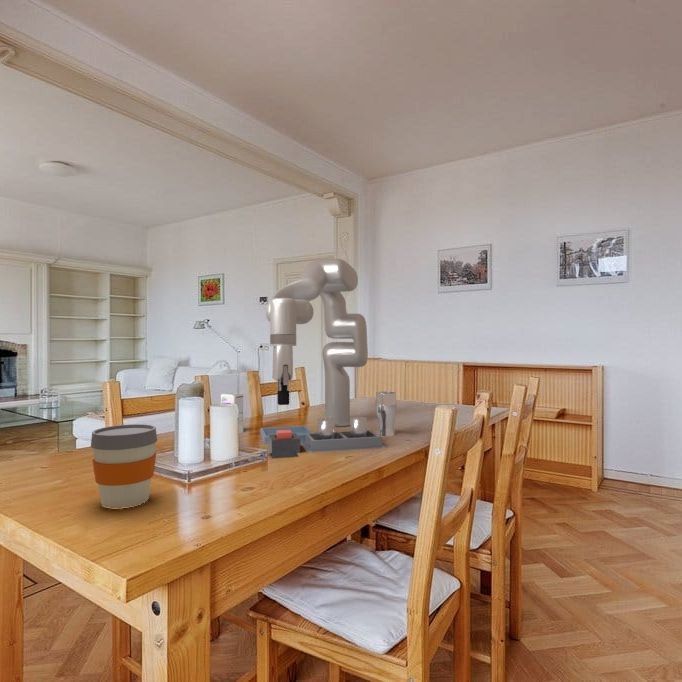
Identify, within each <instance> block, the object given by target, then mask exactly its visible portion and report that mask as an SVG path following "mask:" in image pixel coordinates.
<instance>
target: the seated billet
mask: <svg viewBox="0 0 682 682" xmlns="http://www.w3.org/2000/svg"><path fill="white" fill-rule="evenodd" d="M367 418H368V417H365V416H352V417H351V416H350V425H349V427H350V430H349V431H350V436H351V438H360V437H367V430H368V419H367Z"/></svg>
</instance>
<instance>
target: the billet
mask: <svg viewBox="0 0 682 682" xmlns="http://www.w3.org/2000/svg"><path fill="white" fill-rule="evenodd" d="M335 427H336V426H335V421H334V419H333V418H325V417H323V418H322V417H321V418H318V419H317V433H318V440H326V439H335V432H336V431H335Z"/></svg>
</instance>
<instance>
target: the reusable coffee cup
mask: <svg viewBox="0 0 682 682" xmlns="http://www.w3.org/2000/svg"><path fill="white" fill-rule="evenodd" d="M157 434H158V433H157V428H156V426H155V425H151V424H141V423H139V424H137V423H136V424H134V423H133V424H121V425H120V424H118V425H111V426H105V427H101V428H98V429H95V430H93V431H92V432H91V439H90V440H91V441H90V447H91V449H92V450H93V452H92V453H93V459H92V467H93V473H94V479H95V483H96V484H97V485H98V489H99V491H98V492H99V497H100V504H102V505H103V506H105V507H110V508H122V507H130V506H135V505H139V504H142V503H144V502H146V501H147V500H148V499H150V491H151V490H150V489H151V482H152V478H153V477H154V476H155V475H154V474H155V466H156V459H157V458H156V457H157V453H156V452H155V449H156V448H155V447H156V443H157V442H158V436H157ZM148 501H149V500H148ZM148 501H147V502H148ZM147 502H146V503H147ZM144 504H145V503H144ZM102 505H101V506H102ZM142 505H143V504H142Z"/></svg>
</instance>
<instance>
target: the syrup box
mask: <svg viewBox="0 0 682 682" xmlns="http://www.w3.org/2000/svg"><path fill="white" fill-rule="evenodd" d="M221 404H237V406H238V409H239V434H238V435H240V434H243V433H244V393H229V392H227V393H226V392H225V393H222V394H220V405H221Z"/></svg>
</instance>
